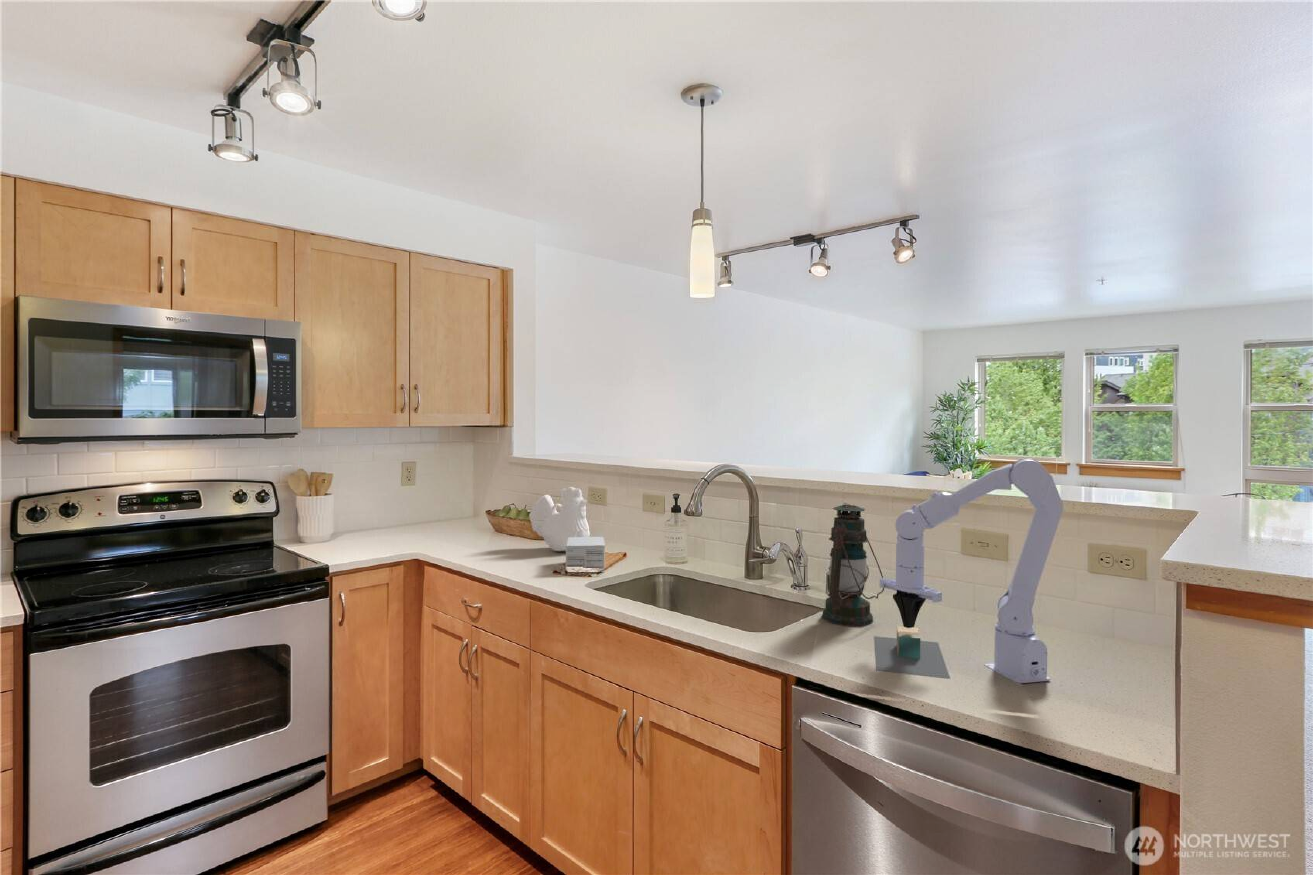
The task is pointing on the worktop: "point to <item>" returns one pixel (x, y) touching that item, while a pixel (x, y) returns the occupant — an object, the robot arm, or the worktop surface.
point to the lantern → (848, 570)
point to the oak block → (908, 642)
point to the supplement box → (585, 552)
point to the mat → (910, 659)
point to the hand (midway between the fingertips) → (908, 626)
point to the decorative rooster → (560, 518)
